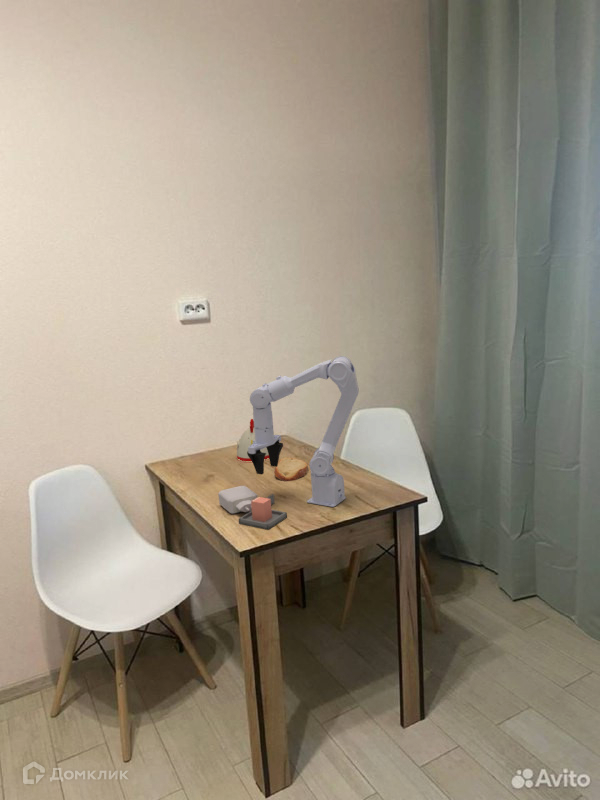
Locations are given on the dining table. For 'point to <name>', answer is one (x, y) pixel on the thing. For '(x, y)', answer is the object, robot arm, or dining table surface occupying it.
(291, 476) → the bread slice
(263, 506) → the salmon gift carton
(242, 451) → the kitchen timer
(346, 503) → the dining table surface
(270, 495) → the bar
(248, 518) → the tray
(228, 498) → the charger
